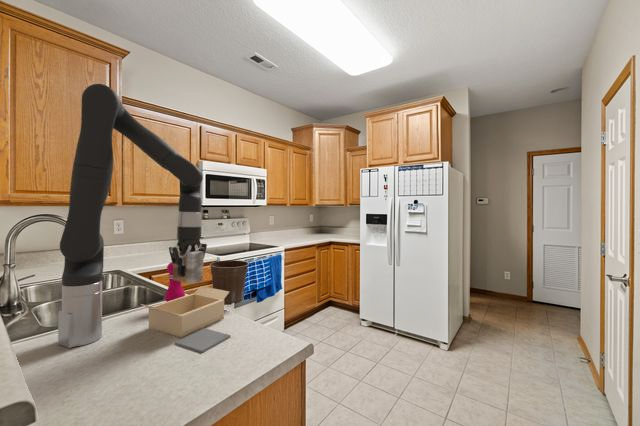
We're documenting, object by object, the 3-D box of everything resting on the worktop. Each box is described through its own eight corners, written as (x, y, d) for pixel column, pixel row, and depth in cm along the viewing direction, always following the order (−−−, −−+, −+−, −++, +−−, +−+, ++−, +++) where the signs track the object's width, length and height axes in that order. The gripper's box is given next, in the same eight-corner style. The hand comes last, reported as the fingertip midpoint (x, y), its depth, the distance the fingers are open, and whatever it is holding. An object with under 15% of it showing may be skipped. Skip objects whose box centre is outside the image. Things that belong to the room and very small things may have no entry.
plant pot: (252, 295, 132) (252, 260, 131) (243, 307, 116) (244, 267, 115) (216, 294, 131) (216, 259, 131) (202, 307, 115) (203, 267, 115)
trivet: (202, 353, 79) (202, 350, 79) (174, 344, 84) (175, 342, 84) (230, 337, 89) (230, 335, 89) (204, 329, 94) (204, 328, 94)
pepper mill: (180, 303, 118) (180, 255, 118) (188, 307, 114) (189, 257, 113) (161, 308, 113) (161, 257, 112) (169, 312, 108) (170, 259, 108)
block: (191, 283, 94) (192, 253, 94) (173, 280, 98) (174, 250, 98) (202, 280, 98) (203, 251, 98) (184, 277, 102) (185, 249, 102)
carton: (172, 343, 84) (172, 312, 84) (139, 332, 91) (139, 303, 91) (230, 316, 106) (230, 291, 106) (199, 308, 113) (200, 285, 113)
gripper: (178, 226, 90) (177, 280, 90) (213, 225, 103) (212, 272, 103) (163, 225, 93) (161, 277, 93) (198, 224, 106) (197, 270, 106)
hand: (188, 274), depth 98 cm, fingers closed on block, 4 cm apart
